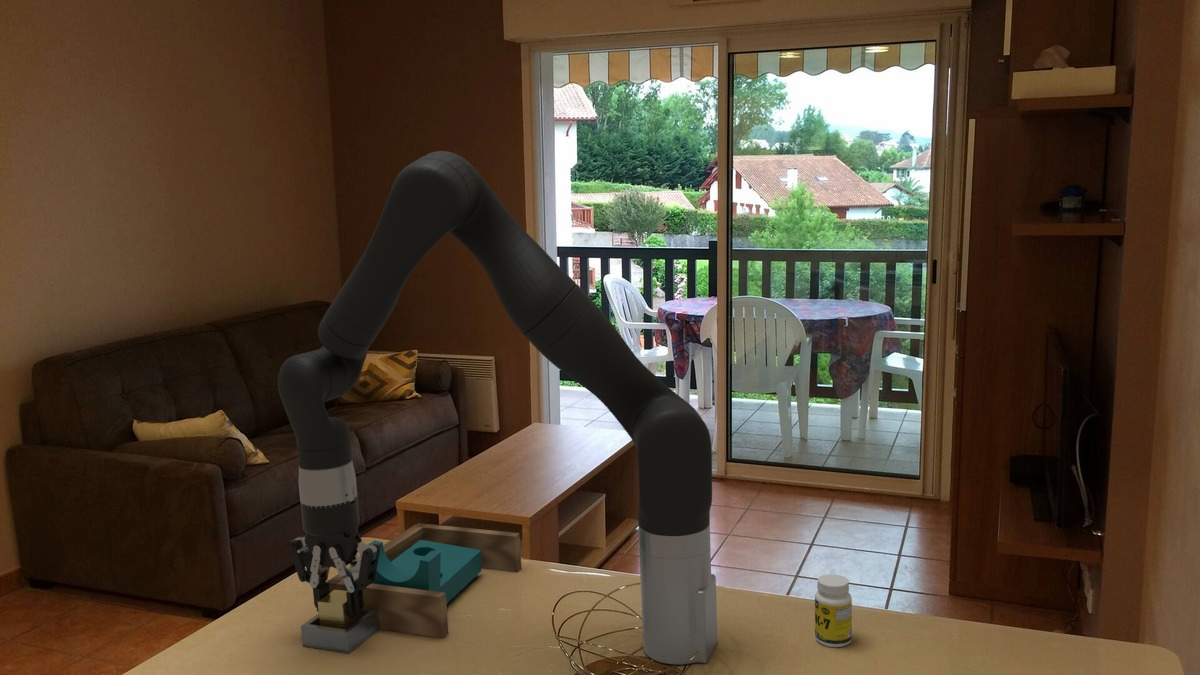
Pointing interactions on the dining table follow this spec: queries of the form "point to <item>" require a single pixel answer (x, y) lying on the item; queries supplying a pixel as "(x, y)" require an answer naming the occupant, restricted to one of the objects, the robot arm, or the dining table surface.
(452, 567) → the teal l-shaped bracket
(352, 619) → the key block
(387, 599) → the bracket
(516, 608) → the dining table surface
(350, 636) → the tray
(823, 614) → the supplement bottle
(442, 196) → the robot arm
